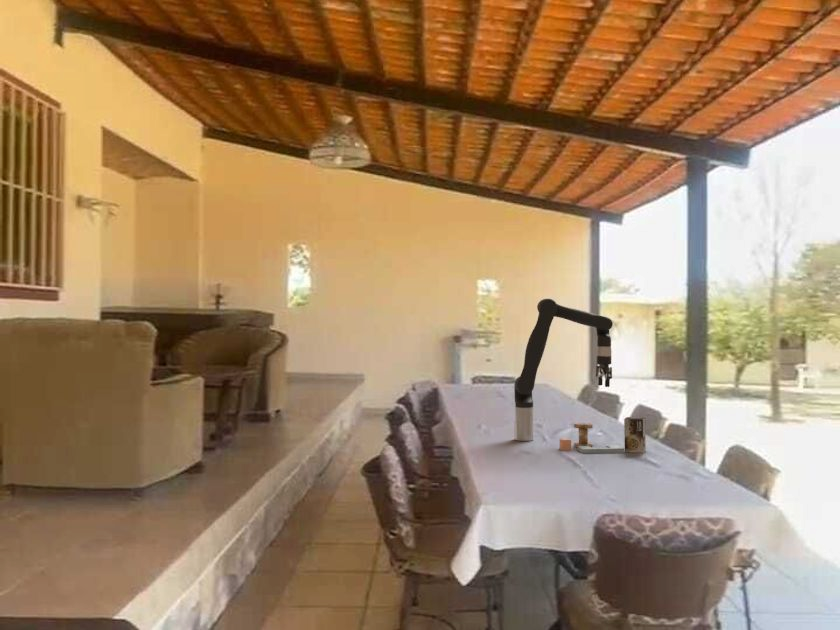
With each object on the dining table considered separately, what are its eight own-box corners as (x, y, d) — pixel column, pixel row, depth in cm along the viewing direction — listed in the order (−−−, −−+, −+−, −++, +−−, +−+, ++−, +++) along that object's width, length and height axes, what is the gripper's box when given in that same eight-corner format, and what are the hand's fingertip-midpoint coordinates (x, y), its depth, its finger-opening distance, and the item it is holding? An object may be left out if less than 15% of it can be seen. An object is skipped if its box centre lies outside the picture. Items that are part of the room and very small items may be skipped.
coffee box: (646, 451, 417) (645, 417, 417) (643, 453, 412) (643, 419, 411) (626, 450, 421) (626, 416, 421) (624, 452, 415) (623, 418, 415)
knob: (576, 448, 427) (576, 425, 427) (571, 445, 436) (571, 423, 436) (594, 447, 428) (594, 425, 428) (589, 444, 437) (589, 422, 437)
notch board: (583, 453, 412) (583, 449, 412) (577, 450, 422) (577, 445, 422) (624, 452, 414) (624, 448, 414) (617, 449, 424) (617, 445, 424)
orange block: (562, 450, 422) (562, 440, 422) (559, 448, 426) (559, 438, 426) (571, 450, 422) (571, 439, 422) (568, 448, 427) (568, 438, 427)
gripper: (591, 354, 462) (591, 385, 462) (603, 355, 448) (602, 387, 449) (604, 354, 464) (604, 384, 464) (616, 355, 450) (616, 387, 450)
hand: (603, 386), depth 456 cm, fingers open, 8 cm apart
